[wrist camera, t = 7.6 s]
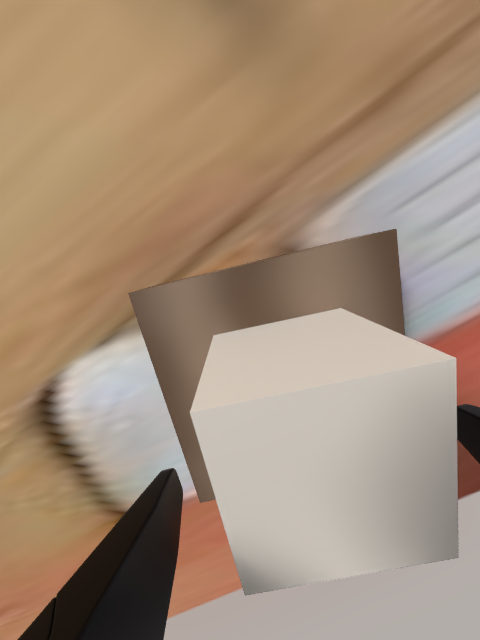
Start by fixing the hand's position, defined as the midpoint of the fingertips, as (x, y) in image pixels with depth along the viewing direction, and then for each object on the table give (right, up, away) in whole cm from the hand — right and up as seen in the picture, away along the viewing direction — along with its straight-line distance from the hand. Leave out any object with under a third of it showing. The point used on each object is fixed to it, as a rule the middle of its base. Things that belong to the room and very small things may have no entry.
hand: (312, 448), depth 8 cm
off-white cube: (0, +1, +4) cm, 4 cm away
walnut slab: (0, +2, +8) cm, 8 cm away
